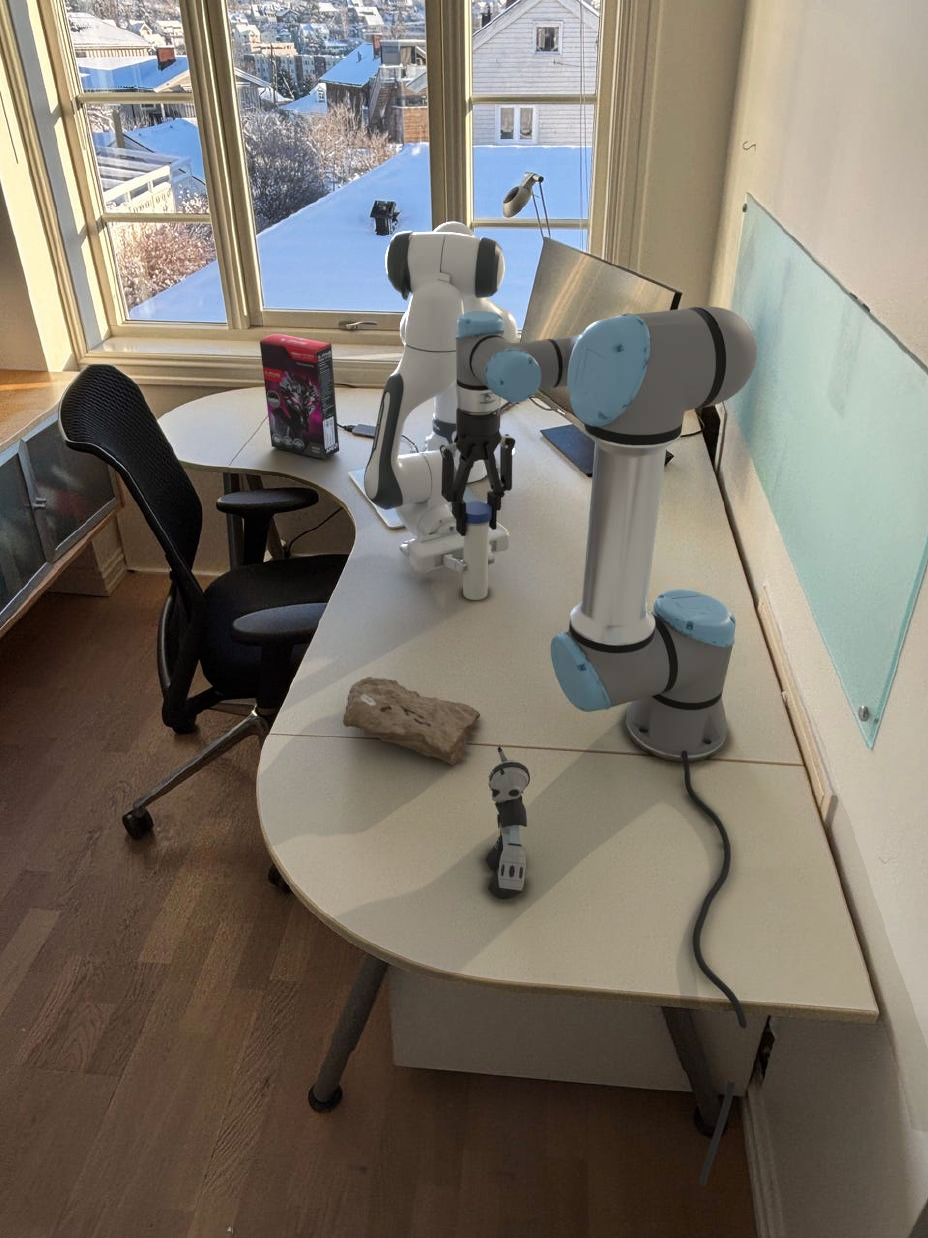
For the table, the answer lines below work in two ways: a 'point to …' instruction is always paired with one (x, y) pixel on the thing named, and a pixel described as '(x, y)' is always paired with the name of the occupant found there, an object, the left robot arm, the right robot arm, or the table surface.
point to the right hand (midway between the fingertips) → (476, 529)
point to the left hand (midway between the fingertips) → (478, 564)
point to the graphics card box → (300, 395)
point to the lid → (478, 512)
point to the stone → (410, 718)
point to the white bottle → (476, 561)
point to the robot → (508, 827)
